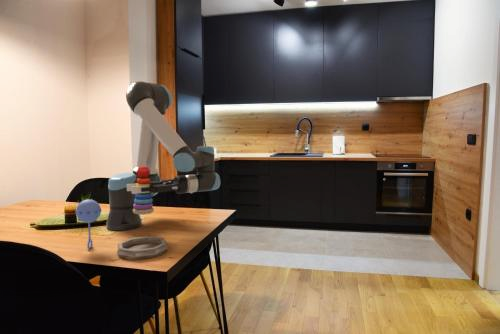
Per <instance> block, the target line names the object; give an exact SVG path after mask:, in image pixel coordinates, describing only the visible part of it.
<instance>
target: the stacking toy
mask: <svg viewBox="0 0 500 334" xmlns="http://www.w3.org/2000/svg"><path fill="white" fill-rule="evenodd" d="M137 175H138V177H140V178H138V179H137V184H136V186H145V185H149V187H150V184H149V182H150V179H149V178H147V177H148V176H149V175H150V169H149V168H148V167H147V166H140V167H139V168H138V169H137ZM152 197H153V196H152V194H151V193H150V191H149V192H147V193H137V194H135V200H134V202H135V203H134V205H133V207H134V209H133V213H135V214H139V215H140V216H141V215H142V216H143V215H150V214H152V213H154V211H155V208H154V204H153V201H154V200H153V198H152Z"/></svg>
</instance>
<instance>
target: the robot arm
mask: <svg viewBox="0 0 500 334" xmlns="http://www.w3.org/2000/svg"><path fill="white" fill-rule="evenodd" d="M130 84H131V85H129V87H127V90H126V93H125V98H126V102H127V106H128V107H129V108H130V110H131V111H132V112H133V114H134V115H135V116H139V117H140V118H141V122H140V123H141V125H140V133H139V143H138V144H139V145H138V152H137V162H136V166H135V167H134V168H132V172H125V173H124V172H123V173H117V174H114V175H112V176H110V177H109V178H108V186H107V188H108V198H109V199H108V201H109V212H108V213H109V214H107V220H106V222H105V223H106V224H105V225H106V226H105V227H106V229H107V230H109V231H129V230H133V229H138V228H140V227H141V226H142V225H143V220H142V218H141V215H139V214H135V213H133V209H134V207H133V205H134V203H135V202H134V200H135V194H137V193H147V192H149V191H150V193H151V194H152V197H154V196H156V195H157V194H159V193H166V192H175V193H176V194H178V195H180V194H186V193H187V194H188V193H190V194H193V193H196V192H197V193H198V192H210V191H215V190H218V189H219V188H220V186H221V177H220V175H219V174H218V173H217V172H215V148H214V147H213V146H212V145H211V146H210V145H209V146H207V145H206V146H205V145H200V146H197V147H196V151H192V149H191V148H190V147H189V146H188V145H187V144H186V142H184V141H185V140H183V139H182V138H181V137H180V135H179V134H178V132H177V131H175V129H174V128H173V126H172V125H171V124H170V122H168V120H167V119H166V118H165V116H166V111H167V110H168V109H169V108H170V107H171V105H172V102H173V97H172V94H171V91H170V90H169V88H168V87H167V86H165V85H164V84H163V85H162V84H160V83H153V82H147V81H135V82H133V83H130ZM159 142H160V144H162V146H163V147H164V148H165V149H166V151H167V152H168V153H169V154H170V156H171V157H172V158H173V161H172V163H173V164H172V165H173V167H174V169H175V170H176V171H178V172H180V173H190V172H193V171H196V174H185V175H176V176H174V177H173V180H171V179H168V180H166V179H164V180H162V178H161V176H160V175H159V170H158V169H157V168H156V166H157V165H156V164H157V159H158V150H159V149H158V148H159ZM140 166H147V167H148V168H149V169H150V175H149V176H148V177H147V178H149V179H150V182H149V184H150V187H149V185H145V186H136V184H137V179H138V178H140V177H138V175H137V169H138V168H139V167H140Z"/></svg>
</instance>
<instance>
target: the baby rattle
mask: <svg viewBox="0 0 500 334" xmlns="http://www.w3.org/2000/svg"><path fill="white" fill-rule="evenodd" d="M101 214H102V207H101V205H100V204H99V203H98V201H96V200H94V199H91V198H90V199H84V200H82V201H80V202H79V203H78V204H77V205H76V208H75V215H76V217H77V219H78V220H79V221H81V222H83V223H87V224H88V225H87V226H88V230H87V231H88V239H87V245H86V247H87V250H90V249H92V248H93V240H92V238H91V237H92V236H91V223H93V222H95V221H96V220H98V219H99V217H100V216H101Z"/></svg>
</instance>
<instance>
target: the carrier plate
mask: <svg viewBox="0 0 500 334" xmlns="http://www.w3.org/2000/svg"><path fill="white" fill-rule="evenodd" d="M116 252H117V257H118V256H119V257H118V258H120V257H121V258H120V259H122V258H124V259H123V260H127V259H132V260H131V261H141V259H143V260H148V258H150V259H153V257H154V258H158V257H160V256H162V254H163V255H164V254H166V253H167V252H168V241H166V239H165V238H164V237H159V236H151V235H150V236H149V235H148V236H140V237H133V238H128V239H126V240H124V241H122V242H119V243H117V251H116ZM157 256H158V257H157Z"/></svg>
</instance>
